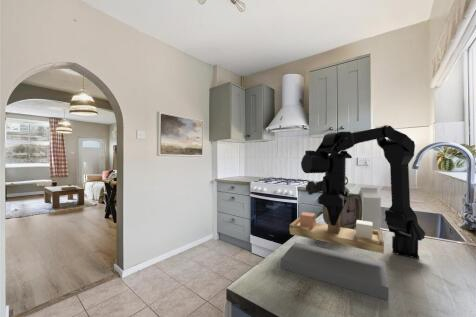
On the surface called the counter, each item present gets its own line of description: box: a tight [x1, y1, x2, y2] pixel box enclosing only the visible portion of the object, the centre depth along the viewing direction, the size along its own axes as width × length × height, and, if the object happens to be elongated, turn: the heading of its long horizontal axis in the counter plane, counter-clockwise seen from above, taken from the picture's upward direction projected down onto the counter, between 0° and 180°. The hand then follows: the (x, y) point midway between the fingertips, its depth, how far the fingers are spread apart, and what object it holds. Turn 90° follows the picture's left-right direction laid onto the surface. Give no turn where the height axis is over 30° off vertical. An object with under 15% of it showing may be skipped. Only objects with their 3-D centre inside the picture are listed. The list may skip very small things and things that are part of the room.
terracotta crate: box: [299, 211, 317, 229], centre depth 70 cm, size 4×4×4 cm
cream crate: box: [355, 220, 373, 239], centre depth 62 cm, size 4×4×4 cm
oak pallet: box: [289, 213, 385, 254], centre depth 66 cm, size 25×10×9 cm, turn 58°
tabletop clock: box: [322, 176, 362, 230], centre depth 91 cm, size 14×9×25 cm, turn 117°
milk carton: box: [357, 186, 382, 231], centre depth 99 cm, size 7×7×19 cm
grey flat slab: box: [280, 241, 389, 301], centre depth 62 cm, size 26×14×3 cm, turn 58°
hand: (334, 223), depth 66 cm, fingers closed on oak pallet, 4 cm apart
